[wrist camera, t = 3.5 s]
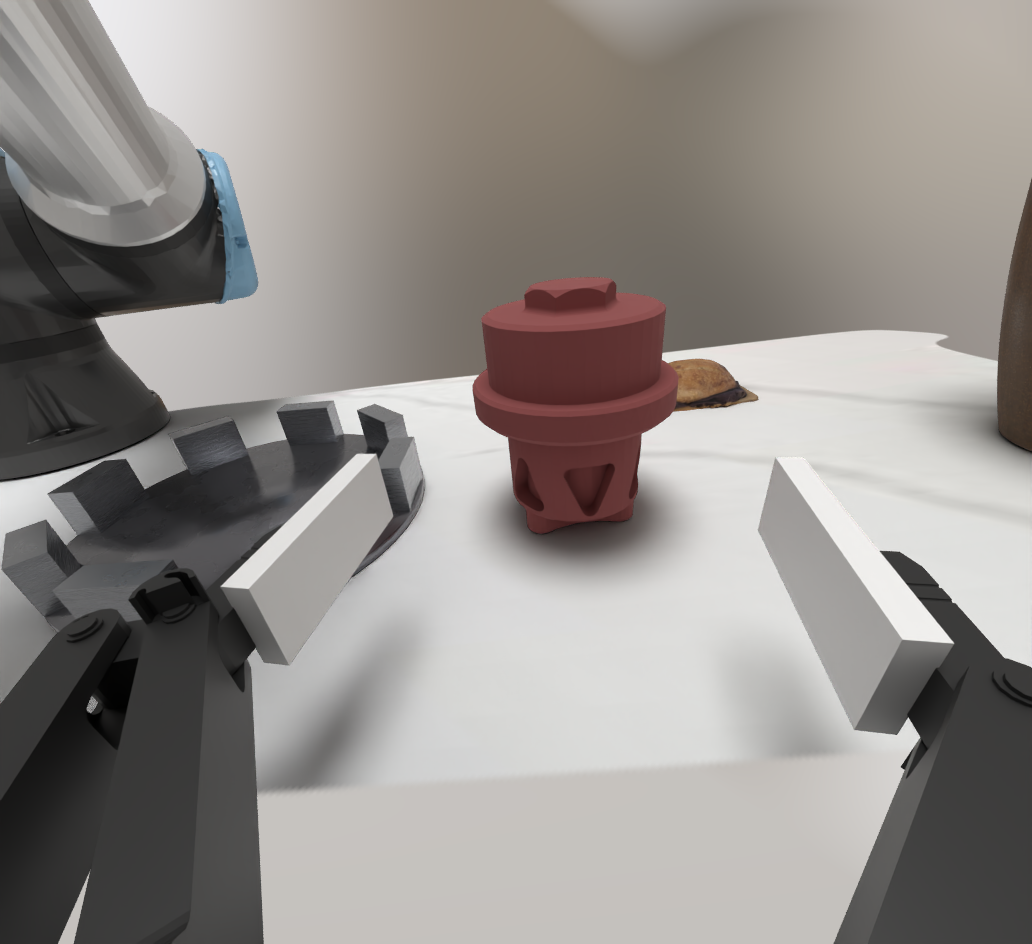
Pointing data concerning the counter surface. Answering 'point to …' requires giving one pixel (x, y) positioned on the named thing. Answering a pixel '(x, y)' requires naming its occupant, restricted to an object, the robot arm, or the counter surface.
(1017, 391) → the plant pot
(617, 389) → the mechanical component
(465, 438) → the counter surface
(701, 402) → the bread roll
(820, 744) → the counter surface
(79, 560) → the castellated collar
